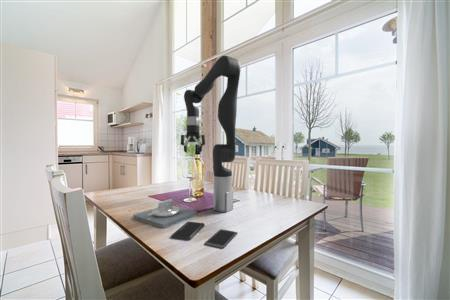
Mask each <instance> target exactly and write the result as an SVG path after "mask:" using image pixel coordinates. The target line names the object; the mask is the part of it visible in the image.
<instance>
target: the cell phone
mask: <svg viewBox="0 0 450 300" xmlns="http://www.w3.org/2000/svg"><path fill="white" fill-rule="evenodd" d="M237 235H238V231H233V230H228V229H222V228H221V229H219V230H218V231H216V232H215V233H214V234H213V235H212V236H210V238H208V239H207V240H206V241H205V242H204V243H203V245H204V246H207V247H211V248H216V249H221V250H224V249H225V248H226V247H227V246H228V245H229V244H230V243H231V242H232V240H233V239H234V238H235V237H236V236H237Z"/></svg>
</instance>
